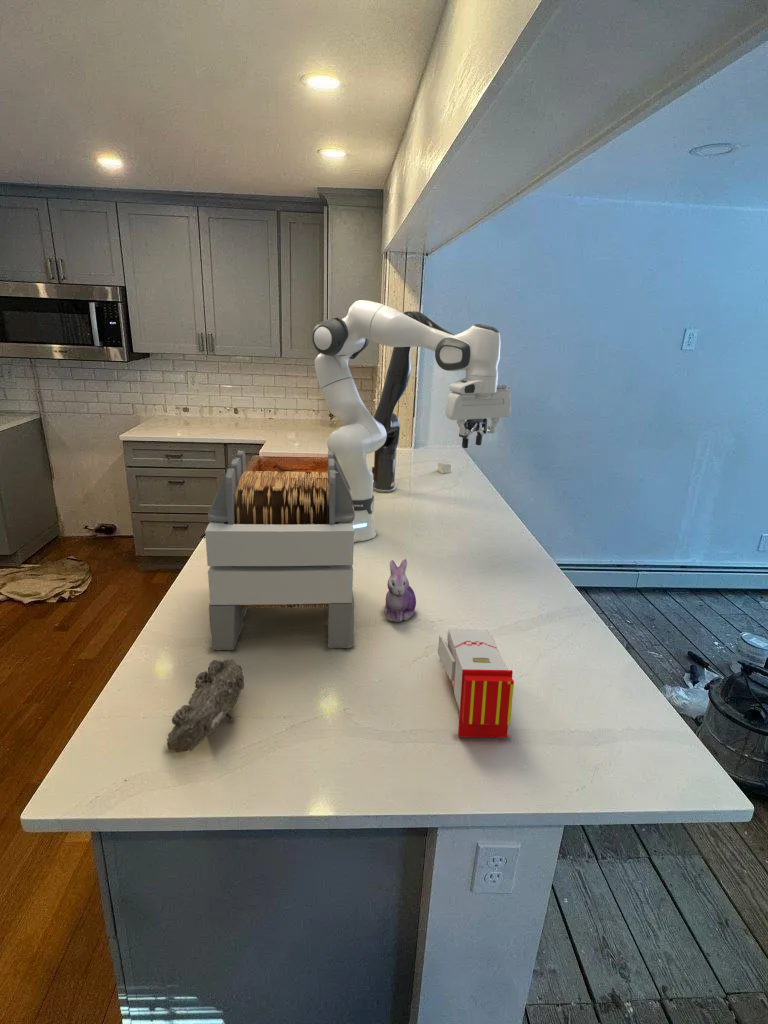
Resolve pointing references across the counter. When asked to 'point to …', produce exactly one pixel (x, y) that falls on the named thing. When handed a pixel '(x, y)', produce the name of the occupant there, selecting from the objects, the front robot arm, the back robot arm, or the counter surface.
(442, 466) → the brick
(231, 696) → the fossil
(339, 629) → the grey record crate stand
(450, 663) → the toy
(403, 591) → the figurine
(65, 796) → the counter surface
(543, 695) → the counter surface
